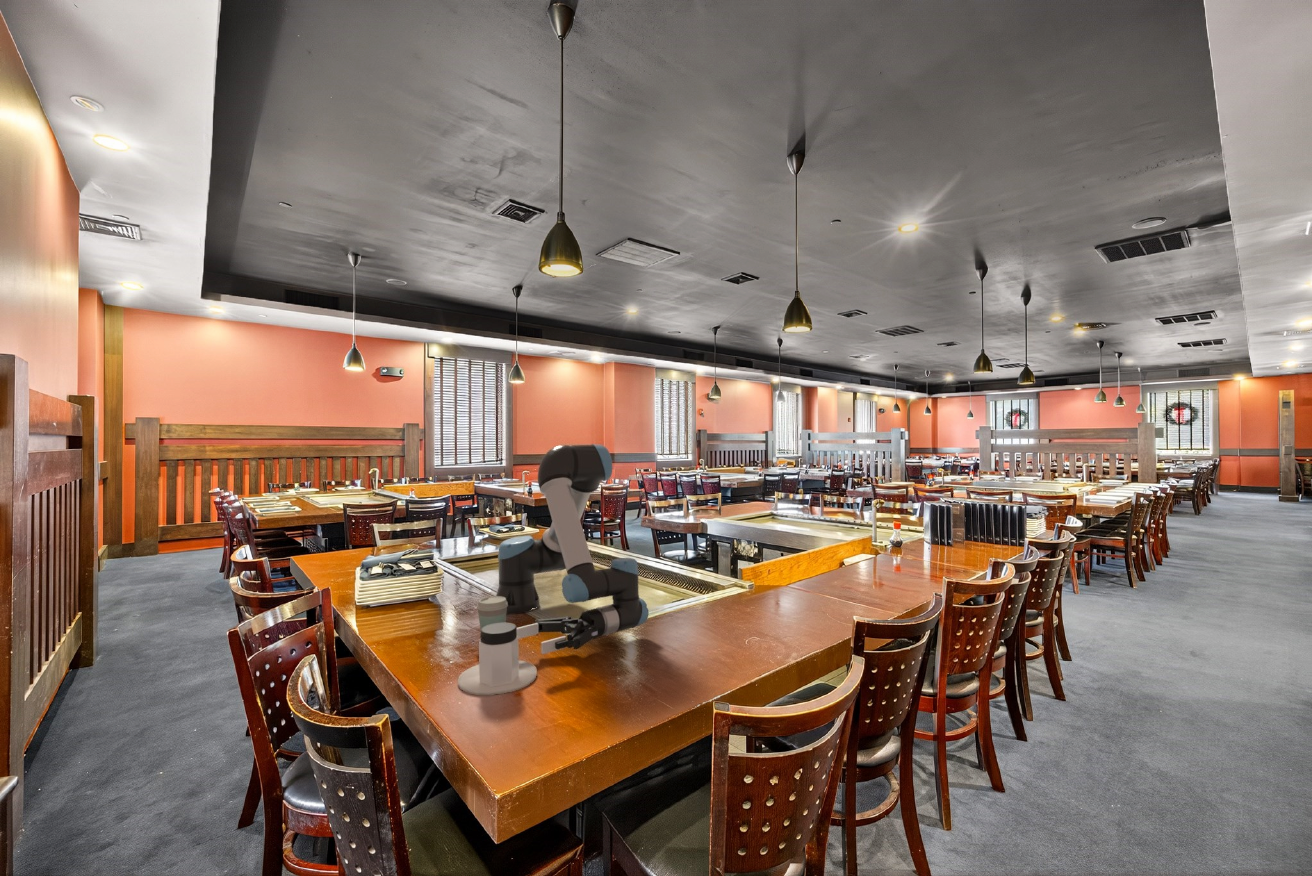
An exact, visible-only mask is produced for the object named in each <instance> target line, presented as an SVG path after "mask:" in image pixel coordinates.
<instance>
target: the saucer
mask: <svg viewBox="0 0 1312 876" xmlns="http://www.w3.org/2000/svg"><path fill="white" fill-rule="evenodd" d="M537 672H538V671H537V667H536V666H535V665H534V664H533V663H530V662H528V661H525V660H520V659H519V676H518V677H517V678H516V679H515V680H514V682H513V683H512V684H507V685H501V686H496V687H490V686H488V685H485V684H483V683H480V682H479V664H476V665H473V666H471V667H469V668H467V669H465V670H464V671H463V672H462V673H460V675H459V677H458V680H457V683H458V685H457V686H458V688H459V689H460V690H461V691H462V690H463V691H462V692H464V693H467V694H470V695H474V694H475V695H476V694H477V695H476V696H495V695H494V694H499V695H503V694H504V693H505V694H508V693H507V692H510V693H513V692H516V690H517V691H519V690H522V689H523V688H526V687H527V686H529V685H531V684H532V683H533V682H534V681H535V680H536V679H537V677H538V675H537ZM536 676H537V677H536ZM530 683H531V684H530ZM512 691H513V692H512Z"/></svg>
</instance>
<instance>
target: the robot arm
mask: <svg viewBox="0 0 1312 876" xmlns="http://www.w3.org/2000/svg"><path fill="white" fill-rule="evenodd" d="M613 468H614V467H613V460H612V456H611V453H610V451H609V450H608V448H607V447H606V446H604V444H595V443H592V444H561V445H557V446H554V447H552V448H550V449H549V450H548V451H547V452H546V453H545V455H543V457H542V459H541V461H540V464H539V466H538V472H537V484H538V487H539V488H538V489H539V491H540V493H541V494H542V495H544V496H545V498H546V503H547V506H548V511H549V514H550V517H551V521H552V522H551V525H550V527H549V528H547V529H546V530H545V531H543V533H542V536H541V538H537V539H536V538H535V539H534V537H533V536H531V535H522V536H514V537H512V538H507V539H505V540H503V541H502V542H501V543H500V544H499V546H498V553H497V558H498V588H497V591H496V594H495V596H501V597H505V598H506V601H507V602H508V606H507V612H506V615H508V614H509V615H510V614H521V613H527V612H528V613H529V612H531V611H530V610H531V609H532V608H536V607H538V608H539V607H540V596H539V594H538V591H537V589H536V588H537V587H536V586H535V574H543V573H550V572H551V573H552V572H558V571H563V570H566V573H567V574H566V575H565V576H563V578H562V581H561V587H562V589H561V592H562V595H563V597H564V599H565V601H566V602H568V603H569V604H570V603H571V604H572V603H573V604H574V603H584V602H588V601H593V600H598V599H601V598H609V597H612V604H606V605H603V606H599V607H596V608H591V609H587V610H584V611H583V612H582V613H580V617H579V618H577V617H575V618H574V617H573V618H572V616H571V615H567V616H563V617H555V618H553V617H551V618H542V619H535V620H534V623H532V624H527V625H523V626H519V627H517V636H518V640H521V639H524V638H527V637H531V636H532V637H533V636H535V635H536V636H539V633H561V634H563V636H559V637H556V638H551V639H548V640H544V641H541V642H540V654H542V655H546V654H549V653H553V652H556V651H560V650H563V649H566V648H568V649H571V648H573V650H578V649H580V648H582V647H583V646H584V645H586V644H587V643H589V642H590V641H592V640H594V639H597V638H601V637H603V636H605V637H609V635H611V634H614V633H618V632H622V631H625V630H628V629H629V630H630V629H634V628H636V627H640V626H642V625H643V624H645V623H646V622H647V620H648V619H649V614H650V613H649V608H648V606H647V605H648V604H647V603H646V601H645V600H644V599H643V598H640V595H639V575H640V574H639V567H638V562H637V560H636V559H635V558H630V557H620V558H618V557H617V558H615V559H613V560H611V562H610V563H611V564H610V567H607V568H603V569H597V570H596V569H595V568H596V567H595V566H594V565H595V564H594V563H593V559H592V556H591V553H590V549H589V546H588V542H587V540H586V536H585V533H584V529H583V526H582V524H581V518H582V516H583V514H584V512H585V509H586V506H587V504H588V501H589V499H590V497H591V494H592V493H594V492H596V491H597V490H598V488H599V486H600V483H601V482H602V481H603V482H606V481H609V480H610V479H611V477H612V474H613ZM565 635H566V636H565Z"/></svg>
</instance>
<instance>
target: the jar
mask: <svg viewBox="0 0 1312 876" xmlns="http://www.w3.org/2000/svg"><path fill="white" fill-rule="evenodd" d="M517 628H518V627H517V625H516V624H515V623H512V622H505V623H494V624H489V625H486V626H484V627H483V628H482V629H481V630H480V634H479V635H480V637H479V638H480V640H479V642H478V658H479V659H478V665H479V682H480V683H483V684H485V685H488V686H490V687H496V686H501V685H507V684H512V683H513V682H514V680H515V679H516V678H517V677H518V676H519V660H520V658H519V654H520V653H519V651H520V650H519V639H518V636H517Z"/></svg>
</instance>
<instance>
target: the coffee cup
mask: <svg viewBox="0 0 1312 876" xmlns="http://www.w3.org/2000/svg"><path fill="white" fill-rule="evenodd" d="M477 602H478V603H477V605H476V609H477V612H478V614H477V615H478V620H479V621H478V623H479V630H480V631H481V629H482V628H483V627H484V626H486V625H489V624H494V623H507V621H506V620H507V613H506V612H507V606H508V602H507V601H506V598H505V597H501V596H496V595H493V596H485V597H483V598H480V599H478V601H477Z"/></svg>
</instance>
